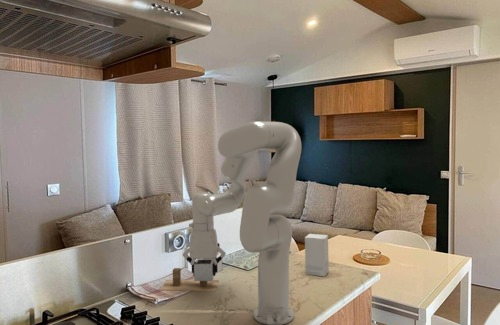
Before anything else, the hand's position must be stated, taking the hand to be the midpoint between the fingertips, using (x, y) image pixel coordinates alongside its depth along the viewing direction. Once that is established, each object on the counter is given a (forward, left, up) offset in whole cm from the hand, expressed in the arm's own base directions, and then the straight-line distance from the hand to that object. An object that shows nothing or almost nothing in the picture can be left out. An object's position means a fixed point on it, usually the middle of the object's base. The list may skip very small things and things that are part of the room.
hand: (204, 274), depth 140 cm
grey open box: (0, 0, -1) cm, 1 cm away
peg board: (0, +6, -5) cm, 8 cm away
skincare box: (+16, -43, -6) cm, 47 cm away
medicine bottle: (+18, 0, -6) cm, 19 cm away
